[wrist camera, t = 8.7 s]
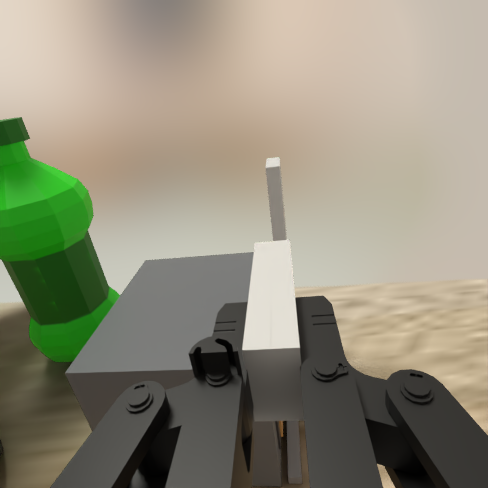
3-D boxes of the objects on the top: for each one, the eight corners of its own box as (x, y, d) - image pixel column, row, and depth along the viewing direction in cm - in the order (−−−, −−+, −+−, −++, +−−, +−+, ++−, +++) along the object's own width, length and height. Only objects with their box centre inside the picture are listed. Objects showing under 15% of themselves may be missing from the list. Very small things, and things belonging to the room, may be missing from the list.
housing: (117, 483, 25) (64, 373, 21) (176, 334, 40) (153, 249, 35) (302, 486, 23) (290, 366, 19) (293, 328, 38) (285, 238, 33)
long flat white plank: (286, 370, 31) (265, 171, 24) (285, 334, 36) (267, 155, 28) (297, 370, 31) (279, 169, 23) (295, 333, 36) (279, 154, 28)
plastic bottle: (70, 321, 45) (-21, 122, 34) (147, 314, 44) (79, 107, 33) (22, 383, 36) (-122, 141, 25) (118, 377, 35) (12, 122, 24)
